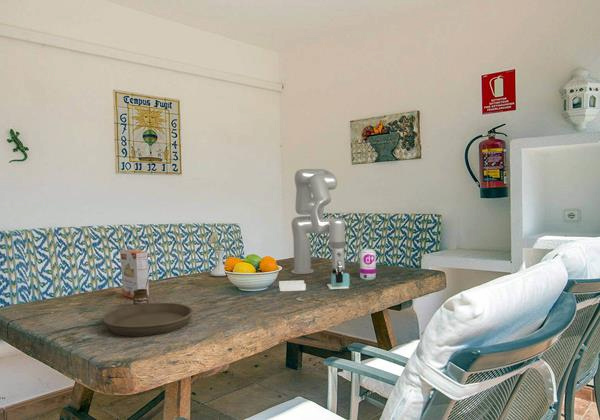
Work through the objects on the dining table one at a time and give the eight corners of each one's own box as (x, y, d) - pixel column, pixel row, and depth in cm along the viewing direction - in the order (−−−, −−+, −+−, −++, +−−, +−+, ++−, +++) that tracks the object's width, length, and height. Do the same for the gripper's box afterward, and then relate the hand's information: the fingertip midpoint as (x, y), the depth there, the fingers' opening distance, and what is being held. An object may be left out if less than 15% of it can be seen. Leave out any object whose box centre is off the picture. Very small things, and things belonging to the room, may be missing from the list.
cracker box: (121, 296, 219) (120, 250, 218) (134, 293, 224) (132, 249, 223) (137, 300, 210) (135, 252, 209) (149, 298, 214) (148, 251, 213)
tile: (327, 285, 236) (327, 283, 236) (345, 284, 237) (345, 283, 237) (329, 289, 227) (329, 287, 227) (348, 288, 228) (348, 287, 228)
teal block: (331, 284, 234) (331, 273, 234) (347, 284, 235) (347, 272, 235) (332, 286, 229) (332, 275, 229) (349, 286, 230) (349, 274, 230)
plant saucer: (193, 334, 161) (193, 321, 160) (94, 342, 154) (93, 328, 154) (193, 311, 191) (193, 300, 191) (110, 317, 184) (110, 305, 184)
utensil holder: (132, 306, 200) (131, 277, 199) (148, 304, 202) (147, 276, 202) (134, 309, 195) (133, 279, 194) (150, 307, 197) (149, 278, 196)
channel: (279, 287, 233) (279, 281, 233) (303, 286, 234) (303, 280, 234) (280, 291, 224) (279, 284, 224) (305, 290, 225) (305, 283, 225)
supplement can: (376, 279, 247) (376, 250, 247) (360, 280, 248) (360, 251, 247) (374, 276, 256) (374, 248, 255) (359, 277, 256) (358, 248, 255)
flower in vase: (220, 273, 274) (219, 229, 273) (235, 275, 268) (234, 230, 266) (203, 277, 264) (202, 231, 262) (218, 279, 257) (217, 232, 256)
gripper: (348, 247, 223) (348, 284, 224) (341, 243, 240) (342, 277, 241) (332, 247, 222) (332, 284, 223) (326, 243, 239) (327, 277, 240)
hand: (337, 280), depth 232 cm, fingers open, 9 cm apart
